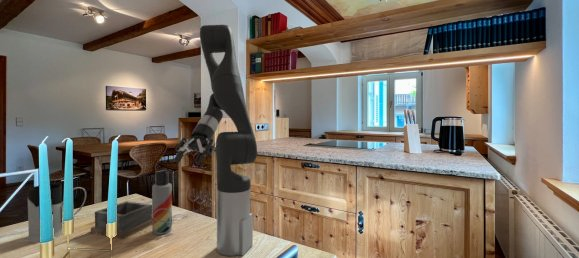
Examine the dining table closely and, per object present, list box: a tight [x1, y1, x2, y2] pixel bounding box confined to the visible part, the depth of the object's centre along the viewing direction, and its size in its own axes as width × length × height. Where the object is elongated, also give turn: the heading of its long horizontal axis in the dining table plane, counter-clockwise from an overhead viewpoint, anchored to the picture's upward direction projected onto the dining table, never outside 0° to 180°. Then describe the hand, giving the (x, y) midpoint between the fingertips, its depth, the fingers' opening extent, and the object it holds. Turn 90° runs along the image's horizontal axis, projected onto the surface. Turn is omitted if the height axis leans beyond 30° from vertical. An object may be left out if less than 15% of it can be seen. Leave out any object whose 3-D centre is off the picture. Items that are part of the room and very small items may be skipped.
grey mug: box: [26, 183, 87, 243], centre depth 83 cm, size 9×14×15 cm, turn 130°
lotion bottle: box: [151, 169, 173, 236], centre depth 85 cm, size 6×6×20 cm
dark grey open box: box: [90, 200, 152, 240], centre depth 88 cm, size 13×13×6 cm
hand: (186, 162), depth 96 cm, fingers open, 8 cm apart
